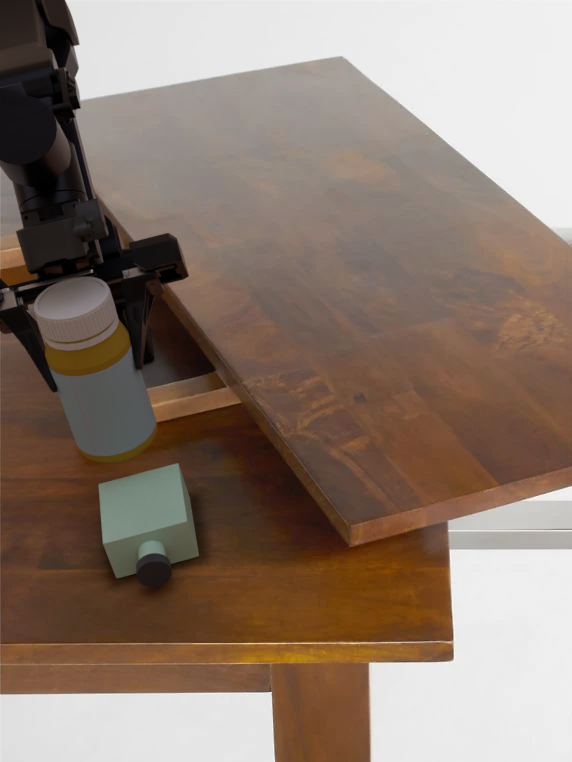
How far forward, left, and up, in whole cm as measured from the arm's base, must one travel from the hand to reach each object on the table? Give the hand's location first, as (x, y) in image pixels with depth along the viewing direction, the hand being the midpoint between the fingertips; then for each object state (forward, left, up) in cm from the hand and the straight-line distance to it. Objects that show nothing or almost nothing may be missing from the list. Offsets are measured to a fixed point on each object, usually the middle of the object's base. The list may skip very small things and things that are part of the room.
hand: (97, 380), depth 114 cm
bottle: (-2, 0, -8) cm, 8 cm away
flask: (+7, +1, -13) cm, 15 cm away
